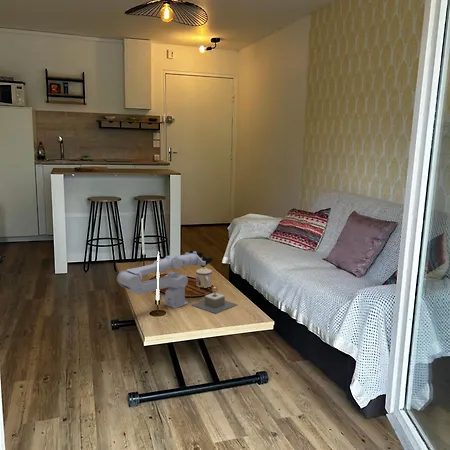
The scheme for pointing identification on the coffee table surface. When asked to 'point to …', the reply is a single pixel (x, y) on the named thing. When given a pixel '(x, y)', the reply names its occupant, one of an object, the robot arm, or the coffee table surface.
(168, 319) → the coffee table surface
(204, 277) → the teacup with lid
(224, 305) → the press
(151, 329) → the coffee table surface
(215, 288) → the plunger
